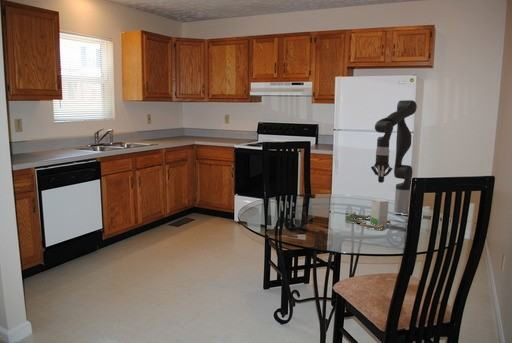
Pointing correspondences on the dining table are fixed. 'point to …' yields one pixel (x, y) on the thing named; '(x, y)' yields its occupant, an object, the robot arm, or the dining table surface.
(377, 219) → the skincare box
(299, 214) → the dining table surface
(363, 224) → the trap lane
